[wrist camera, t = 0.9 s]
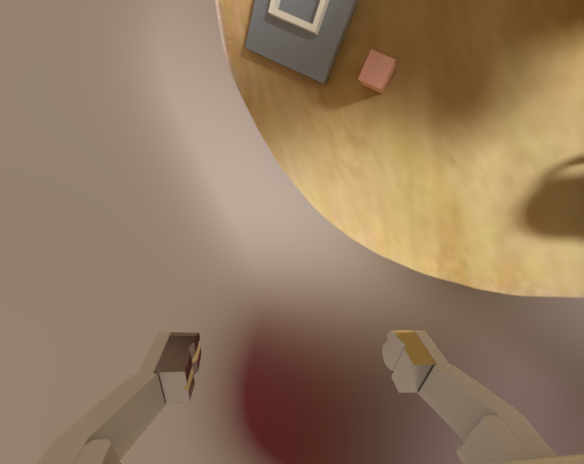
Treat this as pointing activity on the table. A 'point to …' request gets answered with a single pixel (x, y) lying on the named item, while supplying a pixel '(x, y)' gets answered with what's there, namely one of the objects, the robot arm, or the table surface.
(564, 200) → the table surface
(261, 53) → the base board
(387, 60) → the pillar
